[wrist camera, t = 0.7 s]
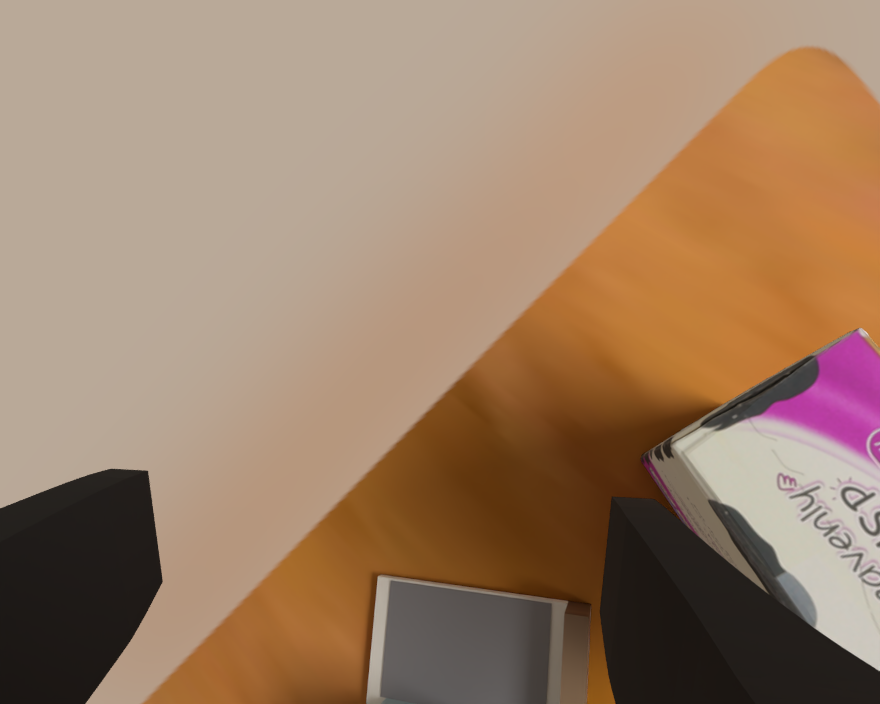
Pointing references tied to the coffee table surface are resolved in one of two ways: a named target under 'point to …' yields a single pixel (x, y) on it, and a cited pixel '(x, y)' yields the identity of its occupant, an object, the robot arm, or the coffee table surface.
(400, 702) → the teal block
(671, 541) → the robot arm
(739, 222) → the coffee table surface
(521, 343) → the coffee table surface
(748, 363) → the coffee table surface
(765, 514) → the candy bar box
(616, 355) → the coffee table surface
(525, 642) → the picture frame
